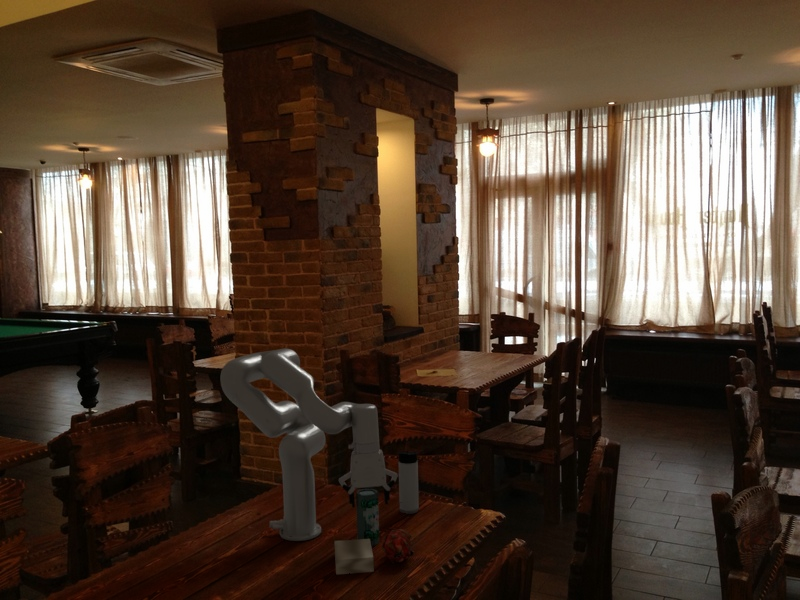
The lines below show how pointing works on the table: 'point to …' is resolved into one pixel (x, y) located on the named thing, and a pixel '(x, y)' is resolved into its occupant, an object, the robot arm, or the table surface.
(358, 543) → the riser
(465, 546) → the table surface
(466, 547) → the table surface
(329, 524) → the table surface
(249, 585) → the table surface
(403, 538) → the dragon fruit
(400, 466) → the travel mug
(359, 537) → the can
